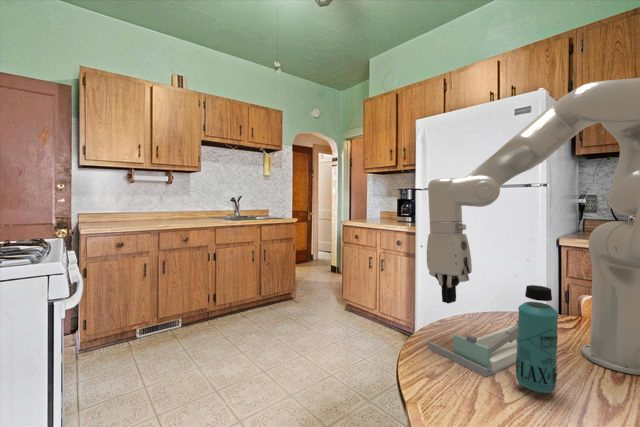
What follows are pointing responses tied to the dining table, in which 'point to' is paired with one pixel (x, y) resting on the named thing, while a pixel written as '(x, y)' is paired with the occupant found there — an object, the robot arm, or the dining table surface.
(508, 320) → the dining table surface
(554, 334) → the beverage bottle
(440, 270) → the robot arm
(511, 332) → the caliper
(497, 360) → the housing
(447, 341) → the dining table surface
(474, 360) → the gate
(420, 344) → the dining table surface
